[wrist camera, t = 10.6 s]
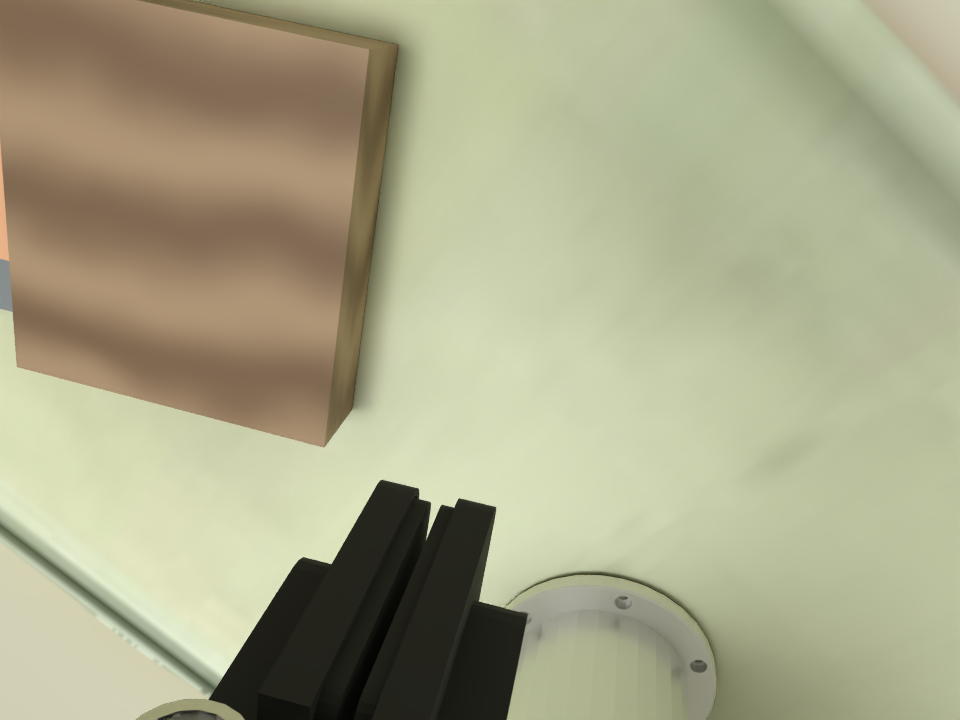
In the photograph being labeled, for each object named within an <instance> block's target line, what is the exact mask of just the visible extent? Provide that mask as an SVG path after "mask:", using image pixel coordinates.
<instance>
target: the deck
mask: <svg viewBox="0 0 960 720" xmlns="http://www.w3.org/2000/svg"><path fill="white" fill-rule="evenodd" d="M397 51H398V44H393V43H388V42H384V41H379V40H374V39H369V38H365V37H360V36H355V35H350V34H346V33H341V32H336V31H331V30H327V29H322V28H317V27H312V26H308V25H303V24H298V23H293V22H289V21H284V20H279V19H274V18H270V17H265V16H260V15H255V14H251V13H246V12H241V11H236V10H231V9H227V8H222V7H217V6H212V5H208V4H203V3H198V2H193V1H189V0H0V144H1V157H2V171H3V185H4V198H5V212H6V225H7V239H8V252H9V266H10V280H11V293H12V307H13V320H14V334H15V347H16V361H17V367H19V368H23V369H27V370H31V371H35V372H38V373H42V374H46V375H50V376H54V377H58V378H61V379H65V380H69V381H73V382H77V383H80V384H84V385H88V386H92V387H96V388H99V389H103V390H107V391H111V392H115V393H118V394H122V395H126V396H130V397H134V398H137V399H141V400H145V401H149V402H153V403H157V404H160V405H164V406H168V407H172V408H176V409H179V410H183V411H187V412H191V413H195V414H198V415H202V416H206V417H210V418H214V419H217V420H221V421H225V422H229V423H233V424H237V425H240V426H244V427H248V428H252V429H256V430H259V431H263V432H267V433H271V434H275V435H278V436H282V437H286V438H290V439H294V440H297V441H301V442H305V443H309V444H313V445H317V446H320V447H325V446H326V444H327V443H328V442H329V440H330V439H331V438H332V436H333V435H334V433H335V432H336V431H337V429H338V428H339V427H340V425H341V424H342V423H343V421H344V420H345V418H346V417H347V416H348V414H349V413H350V412H351V410H352V405H353V397H354V389H355V381H356V374H357V366H358V358H359V350H360V342H361V334H362V326H363V319H364V311H365V303H366V295H367V287H368V279H369V271H370V263H371V256H372V248H373V240H374V232H375V224H376V216H377V208H378V201H379V193H380V185H381V177H382V169H383V161H384V153H385V145H386V138H387V130H388V122H389V114H390V106H391V98H392V90H393V83H394V75H395V67H396V59H397Z"/></svg>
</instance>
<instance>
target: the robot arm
mask: <svg viewBox="0 0 960 720" xmlns="http://www.w3.org/2000/svg"><path fill="white" fill-rule="evenodd" d="M430 509H431V503H430V502H428V501H424V500H420V499H419V489H418V488H414V487H410V486H406V485H401V484H397V483H393V482H389V481H385V480H381V481H380V482H379V483H378V484H377V486H376V488H375V490H374V491H373V493H372V495H371V497H370V498H369V500H368V502H367V504H366V505H365V507H364V509H363V510H362V512H361V514H360V516H359V517H358V519H357V521H356V523H355V524H354V526H353V528H352V530H351V531H350V533H349V535H348V537H347V538H346V540H345V542H344V544H343V545H342V547H341V549H340V551H339V552H338V554H337V556H336V558H335V559H334V561H333V563H332V564H328V563H324V562H320V561H316V560H312V559H308V558H304V557H303V558H301V559H300V560H298V562H297V563H296V564H295V566H294V567H293V568H292V570H291V572H290V573H289V575H288V576H287V578H286V579H285V581H284V582H283V584H282V586H281V587H280V589H279V590H278V592H277V593H276V595H275V597H274V598H273V600H272V601H271V603H270V604H269V606H268V608H267V609H266V611H265V612H264V614H263V615H262V617H261V618H260V620H259V622H258V623H257V625H256V626H255V628H254V629H253V631H252V633H251V634H250V636H249V637H248V639H247V640H246V642H245V644H244V645H243V647H242V648H241V650H240V651H239V653H238V655H237V656H236V658H235V659H234V661H233V662H232V664H231V665H230V667H229V669H228V670H227V672H226V673H225V675H224V676H223V678H222V680H221V681H220V683H219V684H218V686H217V687H216V689H215V691H214V692H213V694H212V695H211V697H210V698H209V700H207V699H183V700H179V701H175V702H170V703H166V704H163V705H160V706H158V707H156V708H154V709H152V710H150V711H148V712H146V713H144V714H142V715H141V716H140V717H139V718H137V719H136V720H706V719H707V717H708V716H709V714H710V712H711V710H712V707H713V704H714V700H715V697H716V681H717V676H716V668H715V661H714V656H713V653H712V650H711V648H710V645H709V642H708V640H707V638H706V636H705V635H704V633H703V632H702V630H701V629H700V627H699V626H698V624H697V623H696V622H695V621H694V620H693V619H692V618H691V617H690V616H689V615H688V614H687V612H686V611H685V610H684V609H683V608H681V607H680V606H679V605H677V604H676V603H674V602H673V601H672V600H670V599H669V598H667V597H666V596H665V595H663V594H661V593H659V592H656V591H654V590H652V589H650V588H648V587H646V586H644V585H641V584H638V583H635V582H631V581H628V580H625V579H622V578H615V577H609V576H602V575H574V576H568V577H562V578H556V579H553V580H550V581H547V582H544V583H541V584H538V585H535V586H534V587H532V588H530V589H529V590H527V591H525V592H523V593H522V594H520V595H518V596H517V597H516V598H515V599H514V600H513V601H512V602H511V603H510V604H508V605H507V606H506V607H505V608H502V607H498V606H494V605H490V604H486V603H482V602H479V597H480V592H481V587H482V582H483V577H484V571H485V566H486V561H487V556H488V551H489V545H490V540H491V535H492V530H493V525H494V519H495V514H496V507H493V506H489V505H485V504H481V503H476V502H472V501H468V500H464V499H460V498H459V499H458V501H457V503H456V505H455V508H453V507H449V506H445V505H441V507H440V509H439V511H438V514H437V516H436V519H435V521H434V523H433V526H432V528H431V530H430V533H429V535H428V538H427V540H426V536H427V530H428V523H429V516H430Z"/></svg>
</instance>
